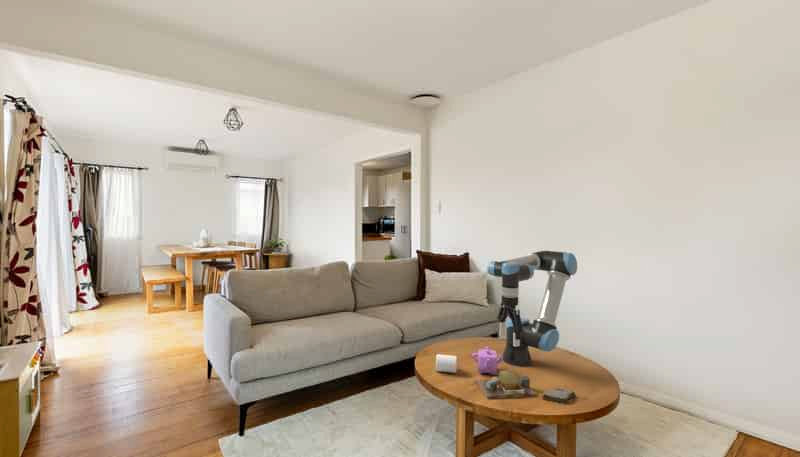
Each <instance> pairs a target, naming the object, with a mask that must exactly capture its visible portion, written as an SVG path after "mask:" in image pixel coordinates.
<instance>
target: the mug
mask: <svg viewBox="0 0 800 457" xmlns="http://www.w3.org/2000/svg"><path fill="white" fill-rule="evenodd" d="M457 364H458V356H456V355H449V354H448V355H447V354H439V353H438V354H436V359H435V371H436V372H441V373H442V372H443V373H450V374H451V373H452V374H456V373H457V368H458V366H457Z"/></svg>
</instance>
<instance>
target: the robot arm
mask: <svg viewBox="0 0 800 457" xmlns="http://www.w3.org/2000/svg"><path fill="white" fill-rule="evenodd" d="M536 270H537V271H544V272H546V273H547V275H548V278H547V283H546V287H545V289H544V290H545V291H544V293H543V297H542V301H541V305H540V308H539V312H538V315H537V318H535V319H533V320H532V321H533V322H532V323H531V321H530V318H526V317H521V314H520V313H521V312H520V309H516V306H518V305H519V295H520V294H519V292H520V289H519V286H520V284H519V283H520V282H523V281H528V280H531V279H532V278H533V277H534V274H535V271H536ZM577 271H578V262H577V258H576V255H575V254H574V253H572V252H567V251H563V252H562V251H554V250H540V251H536V252H535V251H534V252H530V253H528V254H526V255H525V256H522V257H516V258H511V259H506V260H502V261H497V260H494V261H492V260H491V261H490V262H489V263H488V264H487V273H488V274H489V275H490V276H492V277H497V278H498V277H499V278H501V289H500V291H501V302H500V308H499V310H498V314H497V317H496V318H497V320H498V322H499V336H500V337H506V338H505V347H504V350H503V352H502V355H501V356H502V357H503V360H502V362H505V363H507V364H509V365H513V366H517V367H525V366H529V365H531V364H532V356H531V353H530V350H529V347H531V348H535V349H538V350H540V351H545V352H551V351H553V350H555V348H556V347H557V346H558V344H559V341H560V332H559V331H558V330H557V329H558V328H557V327H558V326H557V325H556V320H557V316H558V313H559V307H560V304H561V301H562V298H563V293H564V289H565V286H566V281H569V280H570V278H571V276H574V275H576V274H577ZM507 318H508V319H507ZM506 321H507V322H506Z"/></svg>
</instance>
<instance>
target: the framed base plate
mask: <svg viewBox="0 0 800 457" xmlns="http://www.w3.org/2000/svg"><path fill="white" fill-rule="evenodd" d="M494 378H498V379H499V376H491V379H494ZM488 380H489V379H482V380H480V379H479V380H478V379H476V380H475V379H474V384H475V386H476V387H477V388H478V389H479V390H480V392H481V393H482V394H483V396H484V397H485V399H488V400H491V399H493V400H495V399H510V398H511V399H513V398H528V397H530V398H532V397H538V393H537V392H536V391H535V390H534V389H533V388H532V387H531V386H530V387H529V388H523V387H522V386H521V385H520V384H519V383H517V389H516V390H505V389H504V388H503V387H502V386H501V385H500V384H499V385H497V391H494V392H491V391H489V390H487V389H486V381H488Z"/></svg>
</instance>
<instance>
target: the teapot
mask: <svg viewBox="0 0 800 457" xmlns="http://www.w3.org/2000/svg"><path fill="white" fill-rule="evenodd" d="M476 356H477V357H476ZM471 358H472V359H473V360H474V361H475V362H476V363H477V367H478V368H477V370H478V373H479V374H480V375H484V374H490V375H491V376H495V375H497V374H498V371H497V369H498V364H500V363H501V362H503V357H502V355H498V354H497V351H496V350H492V349H489V346H487V345H486V346H485V349H483V348H482V349H481V348H478V352H477V353H476V352H475V353H472V354H471ZM477 358H478V359H477ZM498 358H499V359H498Z"/></svg>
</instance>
